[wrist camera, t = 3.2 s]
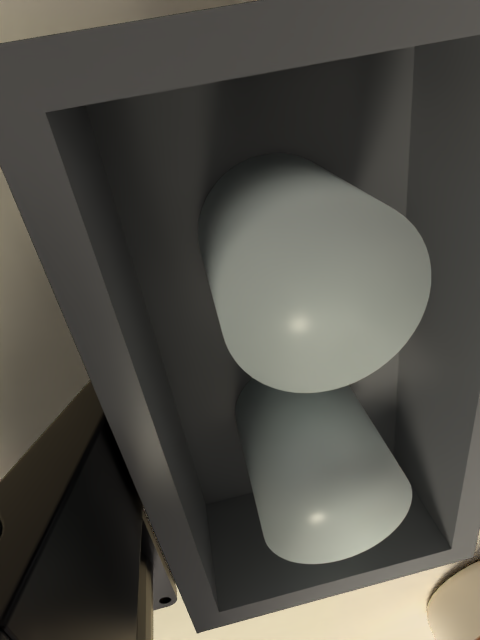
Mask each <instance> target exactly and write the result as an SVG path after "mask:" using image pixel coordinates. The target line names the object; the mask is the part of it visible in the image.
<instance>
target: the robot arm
mask: <svg viewBox="0 0 480 640" xmlns="http://www.w3.org/2000/svg"><path fill="white" fill-rule="evenodd" d="M176 601H177V590H176V586H175V583H174V581H173V579H172V576H171V574H170V571H169V569H168V567H167V564H166V562H165V560H164V557H163V555H162V553H161V550H160V548H159V546H158V543H157V541H156V538H155V536H154V534H153V531H152V529H151V527H150V524H149V522H148V520H147V517H146V515H145V513H144V510H143V504H142V501H141V499H140V497H139V494H138V492H137V490H136V487H135V485H134V482H133V480H132V478H131V475H130V473H129V471H128V468H127V466H126V463H125V461H124V459H123V456H122V454H121V452H120V449H119V447H118V444H117V442H116V440H115V437H114V435H113V432H112V430H111V428H110V425H109V423H108V421H107V418H106V416H105V413H104V411H103V409H102V406H101V404H100V402H99V399H98V397H97V394H96V392H95V390H94V387H93V385H92V383H91V380H90V381H89V382H88V384H87V385H86V386H85V387H84V388H83V389H82V390H81V391H80V393H79V394H78V395H77V396H76V397H75V398H74V399H73V400H72V401H71V403H70V404H69V405H68V406H67V407H66V408H65V409H64V410H63V412H62V413H61V414H60V415H59V416H58V417H57V418H56V419H55V421H54V422H53V423H52V424H51V425H50V426H49V427H48V428H47V429H46V431H45V432H44V433H43V434H42V435H41V436H40V437H39V438H38V440H37V441H36V442H35V443H34V444H33V445H32V446H31V447H30V449H29V450H28V451H27V452H26V453H25V454H24V455H23V456H22V458H21V459H20V460H19V461H18V462H17V463H16V464H15V465H14V466H13V468H12V469H11V470H10V471H9V472H8V473H7V474H6V475H5V477H4V478H3V479H2V480H1V481H0V640H153V610H157V609H160V608H164V607H168V606H170V605H173V604H174V603H175V602H176Z"/></svg>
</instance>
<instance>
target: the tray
mask: <svg viewBox="0 0 480 640" xmlns="http://www.w3.org/2000/svg"><path fill="white" fill-rule="evenodd" d="M0 166H1V169H2V171H3V173H4V176H5V178H6V181H7V183H8V185H9V188H10V190H11V192H12V195H13V197H14V200H15V202H16V204H17V207H18V209H19V211H20V214H21V216H22V219H23V221H24V223H25V226H26V228H27V230H28V233H29V235H30V238H31V240H32V242H33V245H34V247H35V249H36V252H37V254H38V257H39V259H40V261H41V264H42V266H43V269H44V271H45V273H46V276H47V278H48V280H49V283H50V285H51V288H52V290H53V292H54V295H55V297H56V299H57V302H58V304H59V307H60V309H61V311H62V314H63V316H64V318H65V321H66V323H67V326H68V328H69V330H70V333H71V335H72V337H73V340H74V342H75V345H76V347H77V349H78V352H79V354H80V356H81V359H82V361H83V364H84V366H85V368H86V371H87V373H88V375H89V378H90V380H91V383H92V385H93V387H94V390H95V392H96V394H97V397H98V399H99V402H100V404H101V406H102V409H103V411H104V413H105V416H106V418H107V421H108V423H109V425H110V428H111V430H112V432H113V435H114V437H115V440H116V442H117V444H118V447H119V449H120V452H121V454H122V456H123V459H124V461H125V463H126V466H127V468H128V471H129V473H130V475H131V478H132V480H133V482H134V485H135V487H136V490H137V492H138V494H139V497H140V499H141V501H142V504H143V506H144V509H145V511H146V513H147V516H148V518H149V520H150V523H151V525H152V528H153V530H154V532H155V535H156V537H157V539H158V542H159V544H160V547H161V549H162V551H163V554H164V556H165V558H166V561H167V563H168V566H169V568H170V570H171V573H172V575H173V577H174V580H175V582H176V585H177V587H178V589H179V592H180V594H181V596H182V599H183V601H184V604H185V606H186V608H187V611H188V613H189V615H190V618H191V620H192V623H193V625H194V627H195V630H196V632H197V633H200V632H203V631H207V630H211V629H214V628H218V627H222V626H225V625H229V624H233V623H236V622H240V621H243V620H247V619H251V618H254V617H258V616H262V615H265V614H269V613H273V612H276V611H280V610H284V609H287V608H291V607H294V606H298V605H302V604H305V603H309V602H313V601H316V600H320V599H324V598H327V597H331V596H335V595H338V594H342V593H345V592H349V591H353V590H356V589H360V588H364V587H367V586H371V585H375V584H378V583H382V582H386V581H389V580H393V579H396V578H400V577H404V576H407V575H411V574H415V573H418V572H422V571H426V570H429V569H433V568H437V567H440V566H444V565H447V564H451V563H455V562H458V561H462V560H466V559H469V558H473V556H474V552H475V547H476V543H477V539H478V534H479V530H480V0H258V1H252V2H246V3H240V4H234V5H228V6H222V7H216V8H210V9H204V10H198V11H192V12H186V13H180V14H174V15H168V16H162V17H156V18H150V19H144V20H138V21H132V22H126V23H120V24H114V25H108V26H102V27H96V28H90V29H84V30H78V31H72V32H66V33H60V34H54V35H48V36H42V37H36V38H30V39H24V40H18V41H12V42H6V43H0Z"/></svg>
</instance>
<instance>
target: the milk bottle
mask: <svg viewBox="0 0 480 640" xmlns="http://www.w3.org/2000/svg"><path fill="white" fill-rule="evenodd" d="M427 617H428V624H429V627H430V629H431V631H432V633H433V635H434V637H435V640H480V561H478V562H476V563H474V564H471V565H469V566H468V567H466V568H464V569H463V570H461V571H459V572H458V573H456V574H455V575H453V576H452V577H451V578H449V579H448V580H447V581H446V582H445V583H443V584H442V585H441V586H440V587H439V588H438V589H437V591H436V592H435V593H434V594H433V595H432V597H431V599H430V601H429V602H428V607H427Z"/></svg>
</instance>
